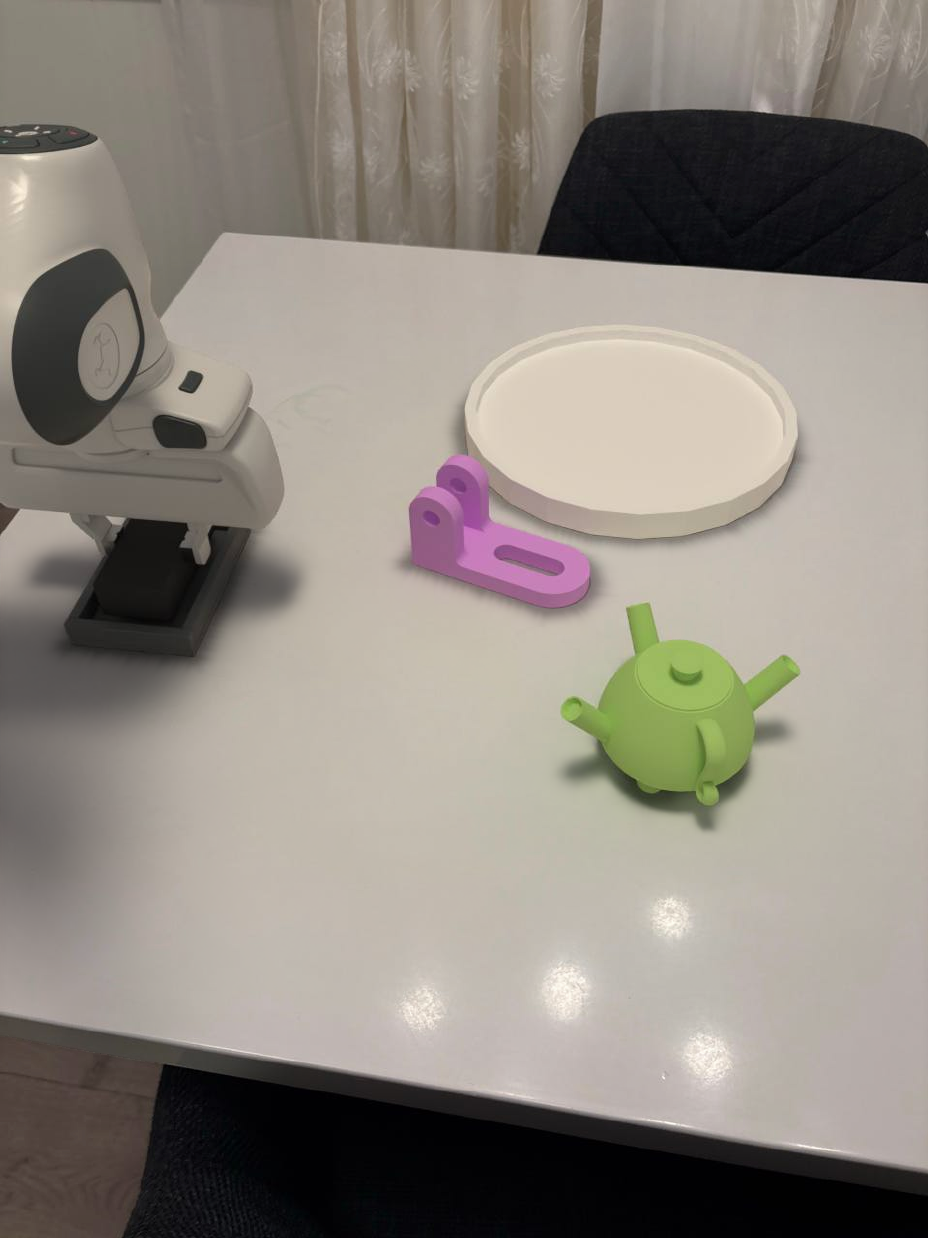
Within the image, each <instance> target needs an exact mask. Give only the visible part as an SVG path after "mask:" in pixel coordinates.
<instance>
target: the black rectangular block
mask: <svg viewBox="0 0 928 1238" xmlns="http://www.w3.org/2000/svg"><path fill="white" fill-rule="evenodd" d="M187 531H190V530H189V529H188V525H187V523H181V522H169V521H158V520H146V519H134V518H131V519H130V520H129V522H128V524H127V525H126V527H125V529H124V531H123V533H122V535H121V536H120V538H119V540H118V542H117V543H116V545H115V546H114V548H113V550H112V551H111V553H110V555H109V556H108V558H107V560H106V562H105V563H104V565H103V567H102V569H101V570H100V572H99V574H98V575H97V577H96V579H95V581H94V582H93V587H94V590H95V593H96V595H97V598H98V601H99V603H100V606H101V609H102V611H103V614H104V615H113V616H124V617H134V618H144V619H154V620H164V621H171V619H172V617H173V615H174V613H175V611H176V609H177V607H178V605H179V603H180V601H181V599H182V597H183V595H184V593H185V591H186V589H187V586H188V584H189V582H190V580H191V578H192V576H193V574H194V572H195V570H196V568H197V566H198V564H192V563H185V562H184V559H183V557H184V556H183V555H182V552H181V551H180V548H179V547H180V545H181V543H182V541H183V540H185V535H186V533H187ZM214 531H215V527H214V525H212V526H211V528H210V530H209V532H208V534H207V536H208V540H209V541H210V539H211V537H212V535H213V533H214ZM196 532H197V531H196Z"/></svg>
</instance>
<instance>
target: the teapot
mask: <svg viewBox="0 0 928 1238" xmlns="http://www.w3.org/2000/svg"><path fill="white" fill-rule="evenodd" d="M625 610H626V615H627V620H628V626H629V631H630V635H631V640H632V645H633V651H634V654H635V655H633V656H632V657H630V658H628V660H626V661H625V662H624V663H623V664H622V665H621V666H620V667H618V668H617V669H616V671H615V672H614V674H613V675H612V676H611V678H609V681H608V682H607V683H606V686H605V687H604V689H603V690H602V691H603V692H602V693H601V696H600V699H599V702H598V706H597V708H596V707H594V706H593V705H591V704H590V703H588V702H587V701H586V700H584V699H582V698H581V697H579V696H577V695H572V696H569V697H567V698H566V699H565V700H564V701H563V702H562V704H561V706H560V716H561V718H562V719H563V720H564V721H566V722H568V723H570V724H571V725H574V726H575V727H577V728H578V729H580V730H582V731H583V732H585V733H587V734H589V735H590V736H592V737H594V738H596V739H598V740H599V741H600V743H601V745H602V748H603V750H604V751H605V753H606V754H607V756H608V757H609V758H610V760H611V761H612V762H613V763H614V765H616V767H618V768H619V769H620V770H621V771H622V772H623V773H625V774H627V776H629V777H631V778H632V779H634V780H636V784H637V787H638V788H639V789H640V790H641V791H642V792H644V793H647V794H657V793H659V792H661V791H662V790H663V791H670V792H695V795H696V796H695V797H696V799H697V800H698V801H699V802H700V803H701V804H702V805H705V806H712V805H715V804H717V803H718V802H719V800H720V793H719V790H718V788H717V786H718V785H720V784H722V783H724V782H726V781H727V780H729V779H730V778H732V777H734V775H736V774H737V773H738V772H739V771H740V770H741V769H742V768H743V766H745V764H746V762H747V761H748V759H749V758H750V755H751V753H752V749H753V745H754V741H755V730H756V728H755V727H756V723H755V715H754V712H755V711H756V710H758V709H759V708H760V707H761V706H763V704H765V703H767V702H768V701H769V700H770V699H772V698H773V697H774V696H775V695H776V694H777V693H779V692H780V691H781V690H782V689H784V688H785V687H786V686H787V685H789V684H790V683H791V682H793V681H794V680H795V679H796V678H797V677H798V676H800V675H801V669H800V667H799V666H798V665H797V662H795V661H794V660H793V658H791V657H790V656H788V655H787V654H781V655H780V656H779V657H778V658H776V659H775V660H774V661H772V662H771V663H770V664H769V665H767V666H766V667H765V668H764V669H762V670H761V671H760V672H758V673H757V674H756V675H754V676H753V677H752V678H751V679H749V680H748V681H747V682H745V683H744V682H743V681H742V679H741V678H740V676H739V675H738V673H737V671H736V670H735V669H734V667H733V666H732V665H731V663H729V661H728V660H727V659H726V658H725V657H724V656H722V655H721V654H720V653H719V652H718V651H716V650H715V649H714V648H711V647H710V646H709V645H706V644H703V643H700V642H697V641H694V640H688V639H668V640H664V641H660V638H659V635H658V630H657V626H656V622H655V618H654V615H653V610H652V606H651V602H643V603H637V604H633V605H629V606H626V607H625Z"/></svg>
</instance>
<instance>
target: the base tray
mask: <svg viewBox="0 0 928 1238" xmlns="http://www.w3.org/2000/svg"><path fill="white" fill-rule="evenodd" d="M130 519H131V518H124V520H123V523H122V524H121V525H122V526H123V527H124V529H125V527H126V525H127V524H128V522H129V520H130ZM214 527H215V531H214V533H213V535H212V537H211V539H210V541H209V544H210V555H209V557H208V559H207V561H206V563H205V564H204V565H201V564H198V566H197V568H196V570H195V572H194V574H193V576H192V578H191V580H190V582H189V584H188V586H187V589H186V591H185V593H184V595H183V597H182V599H181V601H180V603H179V605H178V607H177V609H176V611H175V613H174V615H173V617H172V619H171V621H164V620H154V619H144V618H134V617H124V616H113V615H104V614H103V611H102V609H101V606H100V603H99V601H98V598H97V595H96V593H95V590H94V587H93V582H94V581H95V579H96V577H97V575H98V574H99V572H100V570H101V569H102V567H103V565H104V563H105V562H106V560H107V558H108V556H102V559H100V562H99V564H98V565H97V567H96V569H95V570H94V572H93V573H92V576H91V577H90V578H89V581H88V582H87V584H86V585H85V587H84V589H83V591H82V592H81V594H80V596H79V598H78V600H77V601H76V603H75V605H74V606H73V608H72V609H71V611H70V613H69V615H68V617H67V618H66V619H65V621H64V623H63V627H64V630H65V631H66V634H67V636H68V639H69V643H70V644H71V645H73V646H74V645H75V646H85V647H93V648H104V649H115V650H124V651H125V650H126V651H136V652H145V653H154V654H164V655H165V654H166V655H175V656H185V657H192V658H193V657H195V656H196V653H197V651H198V649H199V647H200V644H201V643H202V641H203V638H204V636H205V634H206V632H207V629H208V627H209V625H210V623H211V620H212V618H213V616H214V614H215V612H216V609H217V607H218V605H219V602H220V600H221V598H222V596H223V593H224V592H225V589H226V587H227V585H228V582H229V580H230V578H231V575H232V574H233V571H234V569H235V567H236V565H237V562H238V560H239V558H240V556H241V554H242V551H243V550H244V547H245V545H246V543H247V540H248V538H249V535H250V533H251V531H252V530H251V528H240V527H228V526H217V525H214Z"/></svg>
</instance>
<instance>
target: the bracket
mask: <svg viewBox="0 0 928 1238" xmlns="http://www.w3.org/2000/svg"><path fill="white" fill-rule="evenodd" d="M435 477H436V478H435V483H436V485H429V486H425V487H423V488H422V489H421V490H420V491H419V492H418V494H417V495H416V496H415V497H414V498H413V499H412V500H411V502H410V503H409V506H408V521H409V533H410V535H409V536H410V545H411V560H412V565H415V566H418V567H421V568H424V569H427V570H430V571H433V572H436V573H439V574H441V575H445V576H448V577H450V578H453V579H457V580H460V581H462V582H465V583H469V584H471V585H475V586H477V587H481V588H484V589H487V590H489V591H492V592H495V593H498V594H501V595H504V596H506V597H510V598H512V599H516V600H519V601H521V602H525V603H528V604H531V605H534V606H537V607H541V608H546V609H557V608H564V607H568V606H571V605H573V604H575V603H577V602H579V601H580V600H581V599H582V598H583V597H584V596H585V595H586V594H587V592H588V591H589V590H588V589H589V586H590V576H591V564H590V562H589V560H588V558H587V557H586V555H585V554H584V553H583V552H581V551H580V550H579V549H577V548H575V547H573V546H571V545H570V544H569V545H568V544H565V543H562V542H559V541H556V540H553V539H549V538H546V537H543V536H540V535H537V534H533V533H530V532H527V531H525V530H522V529H521V530H520V529H517V528H514V527H511V526H508V525H505V524H501V523H499V522H494V521H493V520H492V519H491V517H490V486H489V479H488V475H487V473H486V471H485V469H484V468H483V466H482V465H481V464H480V463H479V462H478V461H476V460H475V459H473V458H471V457H469V456H468V455H466V454H454V455H451V456H450V457H448V458H447V460H446V461H445V462H444V463H443V464H442V465H441V467H440V468H439V469H438V470H437V472H436V475H435ZM505 559H507V560H508V559H509V560H513V561H515V562H518V563H522V564H524V565H527V566H531V567H533V568H537V569H540V570H542V571H545V572H549V573H551V574H556V575H548V574H544V573H541V572H538V571H535V570H532V569H530V568H529V569H528V568H525V567H522V566H520V565H516V564H513V563H510V562H507V561H504V560H505Z"/></svg>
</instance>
